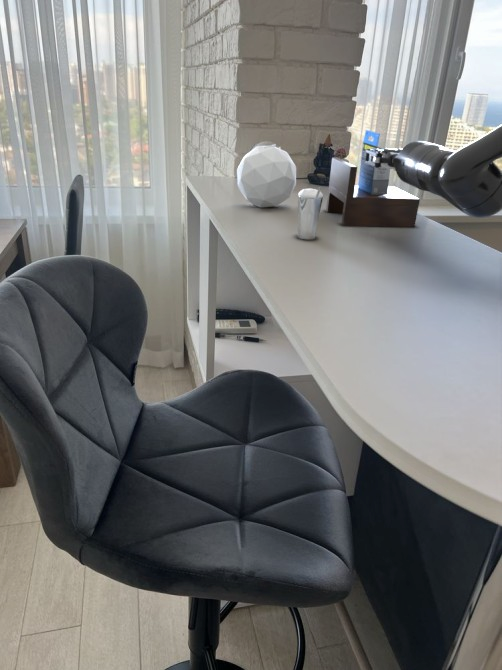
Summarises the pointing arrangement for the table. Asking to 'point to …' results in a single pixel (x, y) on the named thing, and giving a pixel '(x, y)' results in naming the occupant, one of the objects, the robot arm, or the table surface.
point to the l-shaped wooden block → (367, 201)
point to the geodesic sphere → (266, 176)
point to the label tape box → (373, 169)
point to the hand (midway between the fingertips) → (391, 154)
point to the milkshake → (309, 212)
